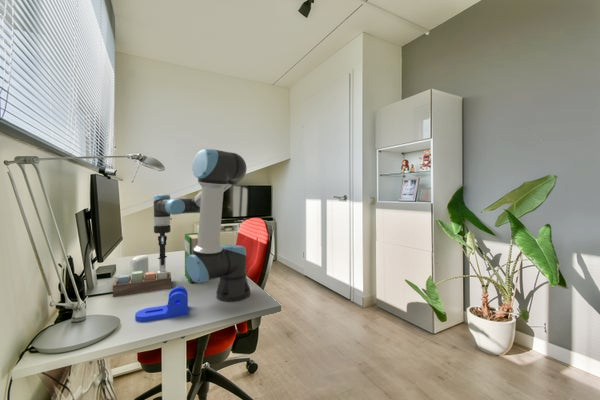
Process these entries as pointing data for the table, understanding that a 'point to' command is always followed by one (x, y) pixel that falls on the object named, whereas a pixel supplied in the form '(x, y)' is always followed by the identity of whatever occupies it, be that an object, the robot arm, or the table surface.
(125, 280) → the light blue cube
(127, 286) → the wooden compartment tray
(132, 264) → the photo printer
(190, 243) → the hardback book
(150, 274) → the peach cube
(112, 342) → the table surface
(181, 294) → the bracket
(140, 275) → the light green cube
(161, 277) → the white cube
